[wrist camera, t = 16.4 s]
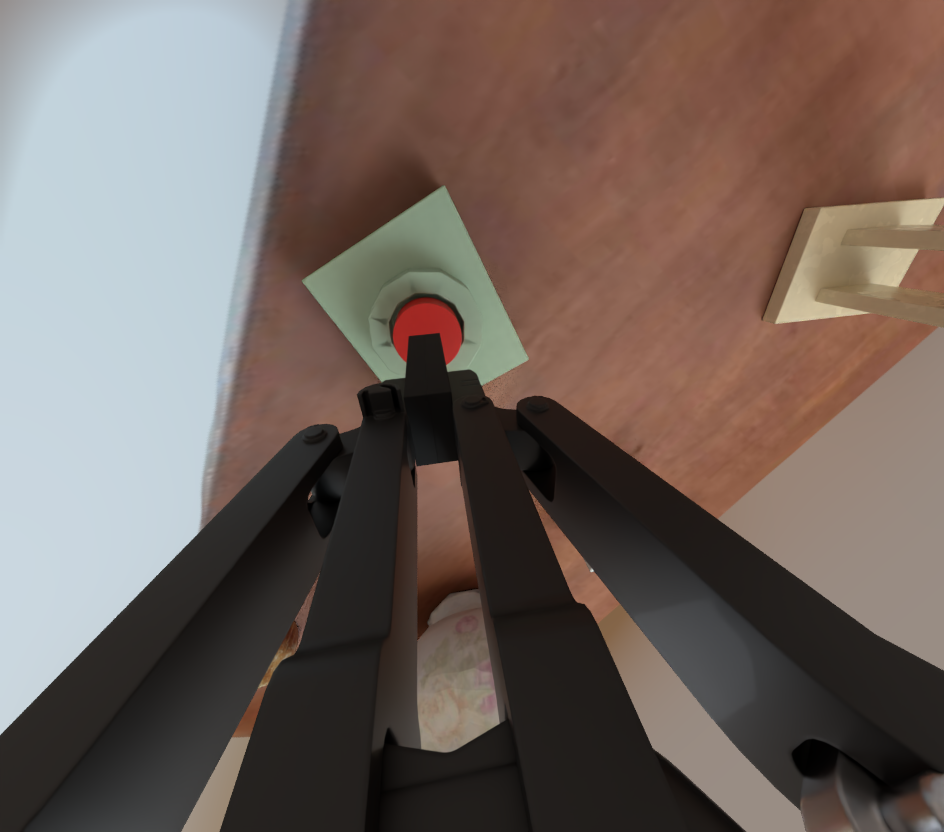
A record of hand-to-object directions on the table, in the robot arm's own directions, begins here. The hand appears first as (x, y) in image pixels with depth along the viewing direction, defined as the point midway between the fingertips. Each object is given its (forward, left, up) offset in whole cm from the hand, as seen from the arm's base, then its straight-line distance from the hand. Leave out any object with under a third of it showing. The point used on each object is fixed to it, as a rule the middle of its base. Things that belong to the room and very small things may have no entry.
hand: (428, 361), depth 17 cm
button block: (0, 0, -9) cm, 9 cm away
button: (0, 0, -5) cm, 5 cm away
